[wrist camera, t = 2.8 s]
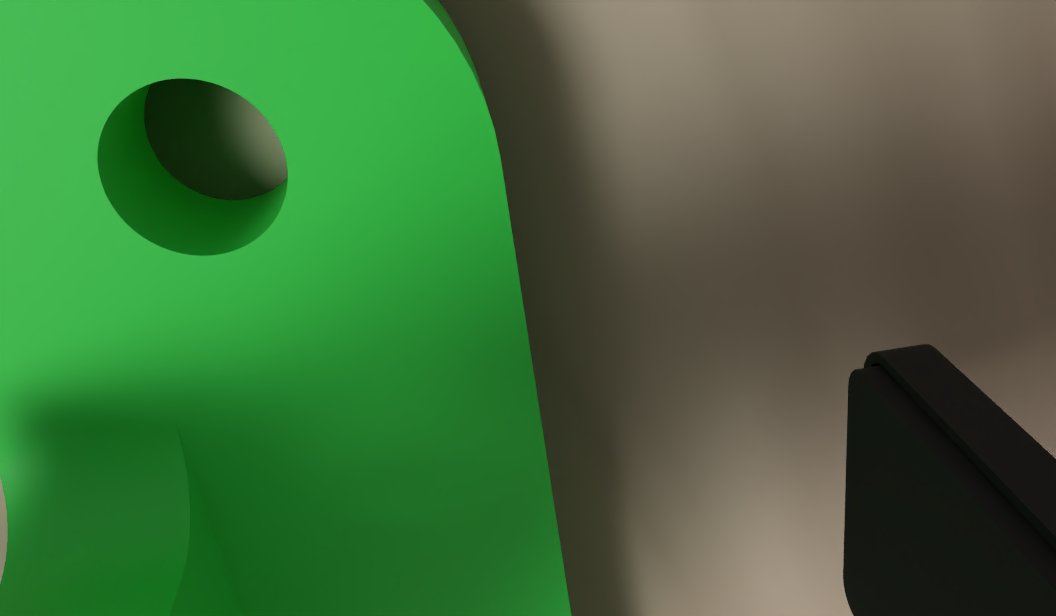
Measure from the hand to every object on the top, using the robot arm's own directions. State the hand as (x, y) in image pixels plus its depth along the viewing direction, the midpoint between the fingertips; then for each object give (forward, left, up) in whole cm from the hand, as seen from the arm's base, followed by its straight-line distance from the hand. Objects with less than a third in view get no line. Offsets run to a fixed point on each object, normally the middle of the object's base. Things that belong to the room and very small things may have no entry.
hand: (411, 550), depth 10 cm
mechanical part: (0, -1, -4) cm, 4 cm away
